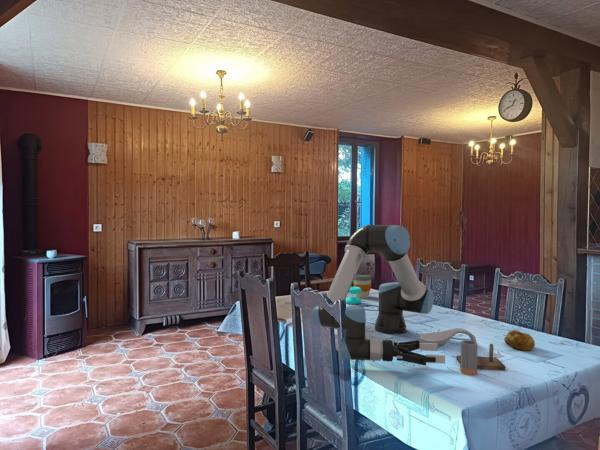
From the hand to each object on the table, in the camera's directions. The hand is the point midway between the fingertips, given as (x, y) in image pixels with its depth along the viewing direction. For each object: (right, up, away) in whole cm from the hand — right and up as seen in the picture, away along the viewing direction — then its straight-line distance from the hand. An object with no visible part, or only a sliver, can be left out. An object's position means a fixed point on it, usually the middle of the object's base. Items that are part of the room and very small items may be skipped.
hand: (441, 353), depth 155 cm
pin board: (+17, -7, +7) cm, 20 cm away
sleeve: (+10, -7, -1) cm, 12 cm away
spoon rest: (+13, -6, +32) cm, 35 cm away
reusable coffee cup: (-9, -3, +136) cm, 137 cm away
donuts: (-17, -4, +117) cm, 118 cm away
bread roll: (+43, -6, +29) cm, 52 cm away
